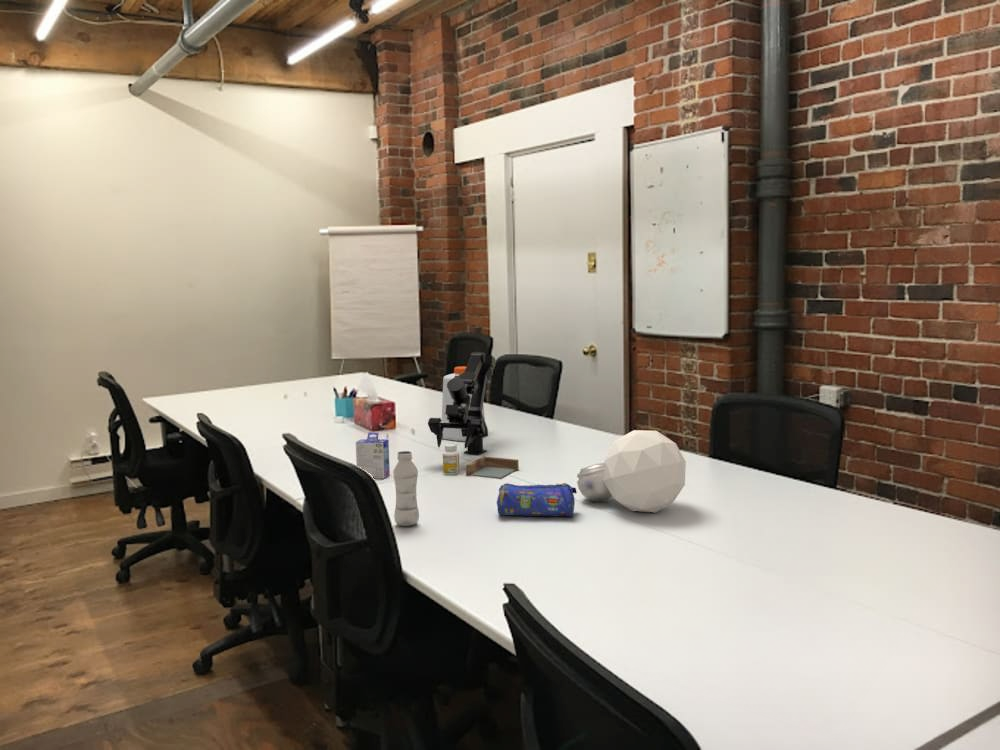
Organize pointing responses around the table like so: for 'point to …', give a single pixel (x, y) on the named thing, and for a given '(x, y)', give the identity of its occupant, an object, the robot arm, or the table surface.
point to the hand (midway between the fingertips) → (451, 447)
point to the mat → (493, 472)
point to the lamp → (637, 472)
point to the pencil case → (536, 500)
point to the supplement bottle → (451, 460)
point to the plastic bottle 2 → (447, 400)
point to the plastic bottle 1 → (405, 490)
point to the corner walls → (491, 464)
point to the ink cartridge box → (373, 456)
